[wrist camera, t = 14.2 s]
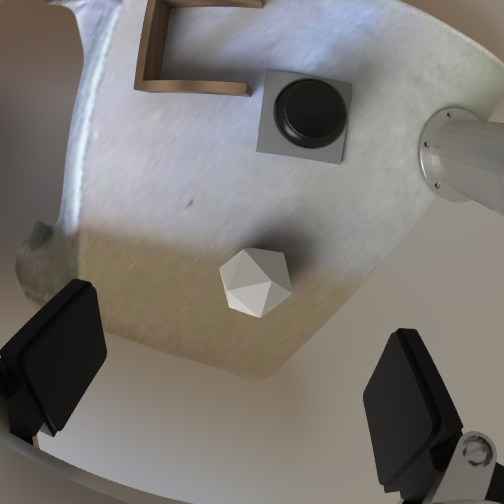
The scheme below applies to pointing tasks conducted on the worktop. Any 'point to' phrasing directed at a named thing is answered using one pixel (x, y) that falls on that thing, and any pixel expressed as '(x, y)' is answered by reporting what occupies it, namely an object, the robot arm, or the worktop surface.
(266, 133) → the pad
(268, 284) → the die
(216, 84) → the cubby
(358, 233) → the worktop surface
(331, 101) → the supplement bottle
